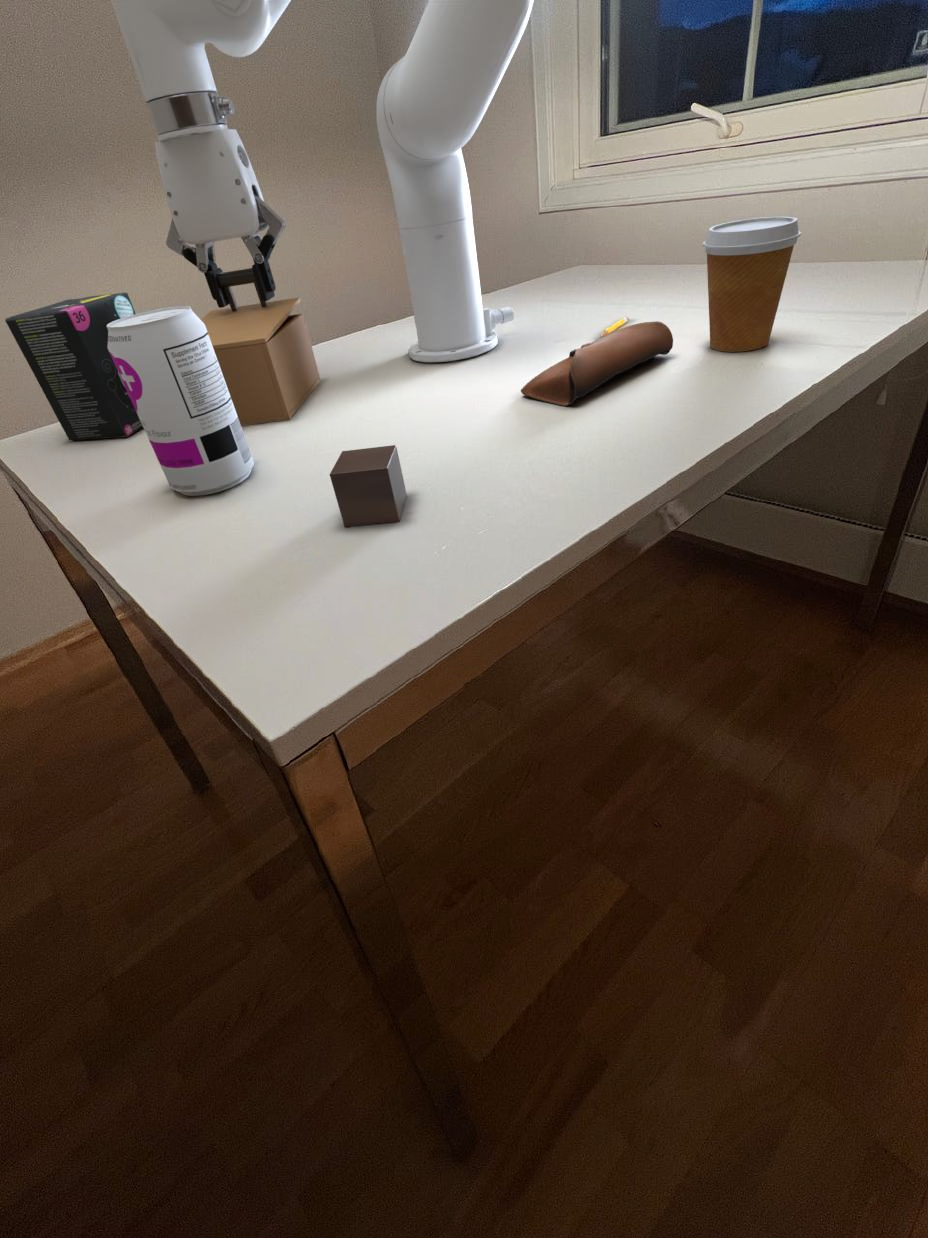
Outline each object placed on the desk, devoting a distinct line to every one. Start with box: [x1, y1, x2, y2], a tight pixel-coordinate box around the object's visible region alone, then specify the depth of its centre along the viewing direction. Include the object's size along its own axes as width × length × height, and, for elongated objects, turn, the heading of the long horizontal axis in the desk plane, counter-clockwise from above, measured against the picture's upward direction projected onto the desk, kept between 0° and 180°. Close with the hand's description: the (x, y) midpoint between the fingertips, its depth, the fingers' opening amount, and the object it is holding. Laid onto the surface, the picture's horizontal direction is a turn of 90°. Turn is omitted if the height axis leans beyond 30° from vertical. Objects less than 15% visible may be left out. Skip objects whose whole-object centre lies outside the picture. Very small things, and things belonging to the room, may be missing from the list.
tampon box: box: [4, 292, 143, 441], centre depth 79 cm, size 11×9×15 cm
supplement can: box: [107, 305, 255, 497], centre depth 58 cm, size 8×8×15 cm
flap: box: [200, 267, 302, 350], centre depth 75 cm, size 16×12×5 cm
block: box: [329, 444, 408, 528], centre depth 50 cm, size 4×4×4 cm
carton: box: [214, 313, 322, 427], centre depth 79 cm, size 15×12×9 cm
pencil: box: [600, 316, 630, 338], centre depth 86 cm, size 1×9×1 cm, turn 146°
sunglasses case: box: [520, 320, 674, 407], centre depth 70 cm, size 18×7×7 cm, turn 134°
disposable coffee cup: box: [702, 216, 802, 353], centre depth 70 cm, size 10×10×12 cm
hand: (246, 300), depth 79 cm, fingers closed on flap, 5 cm apart
